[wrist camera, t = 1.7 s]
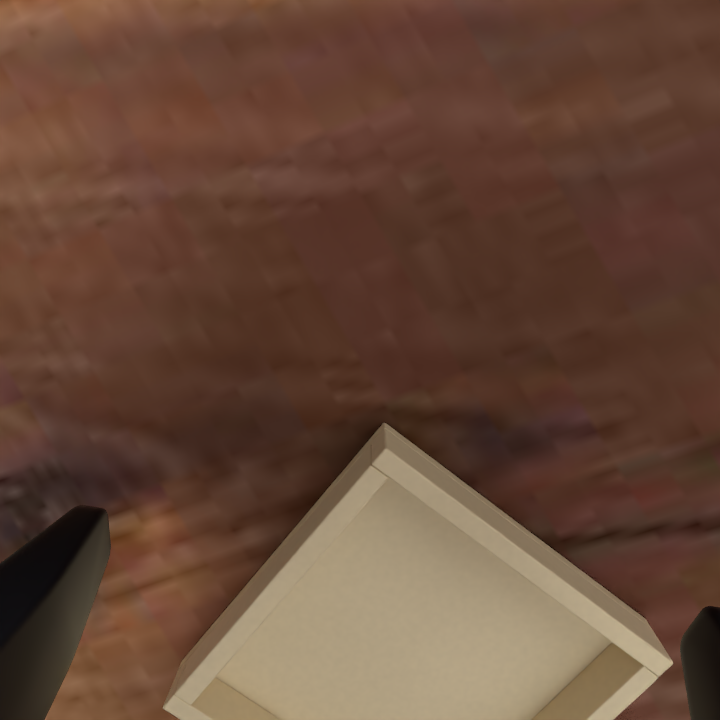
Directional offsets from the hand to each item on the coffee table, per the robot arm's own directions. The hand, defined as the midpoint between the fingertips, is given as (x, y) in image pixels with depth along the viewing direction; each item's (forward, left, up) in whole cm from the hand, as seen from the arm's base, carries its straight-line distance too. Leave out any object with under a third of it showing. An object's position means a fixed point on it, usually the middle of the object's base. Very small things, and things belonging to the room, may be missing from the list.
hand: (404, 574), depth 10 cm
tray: (-9, -9, -15) cm, 19 cm away
